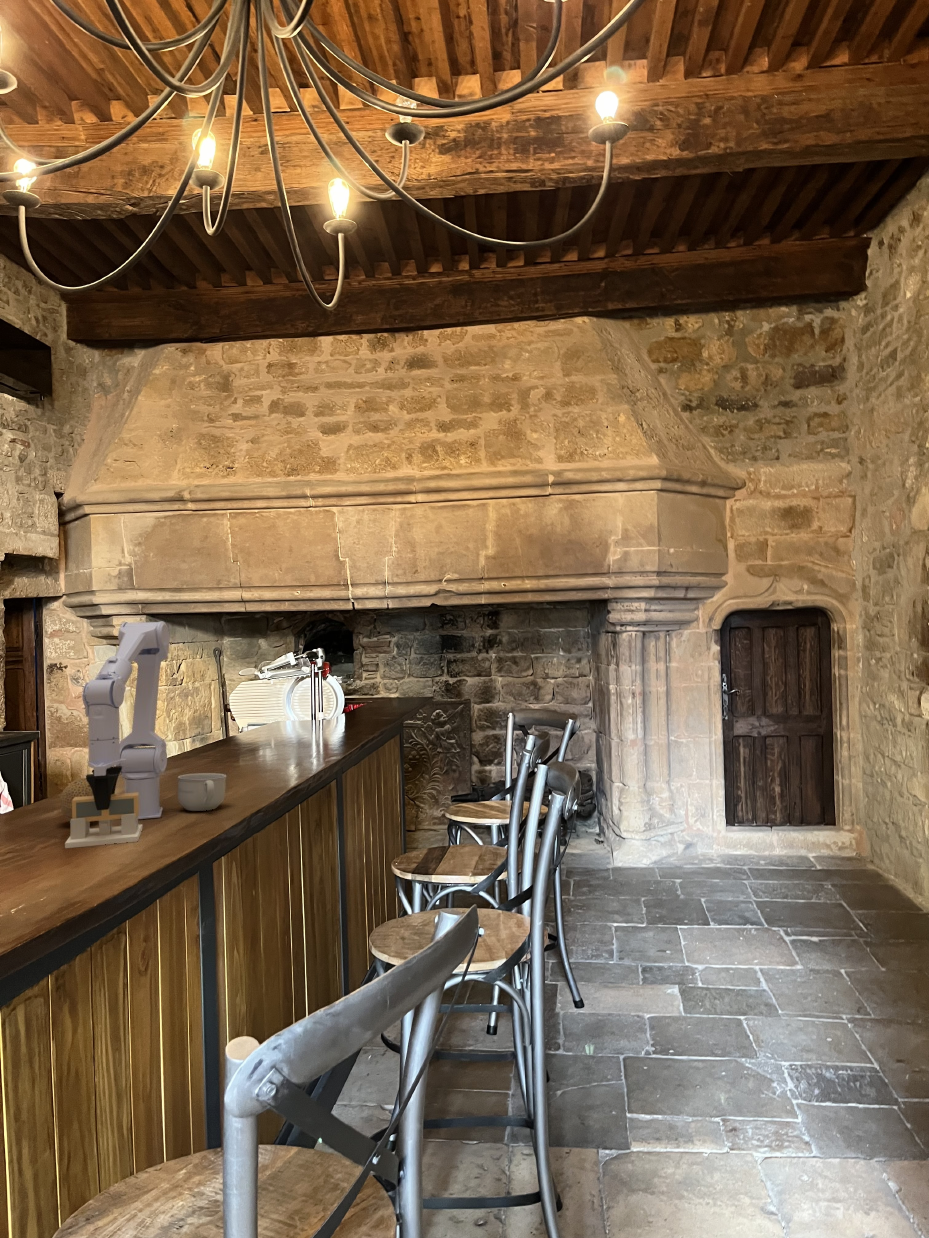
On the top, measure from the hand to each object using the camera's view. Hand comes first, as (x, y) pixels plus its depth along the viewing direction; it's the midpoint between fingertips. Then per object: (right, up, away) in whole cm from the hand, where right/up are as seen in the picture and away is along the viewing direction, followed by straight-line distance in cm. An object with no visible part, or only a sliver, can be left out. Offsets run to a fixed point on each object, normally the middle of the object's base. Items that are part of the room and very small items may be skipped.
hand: (105, 806), depth 161 cm
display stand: (0, -6, 0) cm, 6 cm away
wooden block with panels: (0, -2, 0) cm, 2 cm away
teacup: (+12, -7, +25) cm, 28 cm away
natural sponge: (-11, -7, +13) cm, 18 cm away
